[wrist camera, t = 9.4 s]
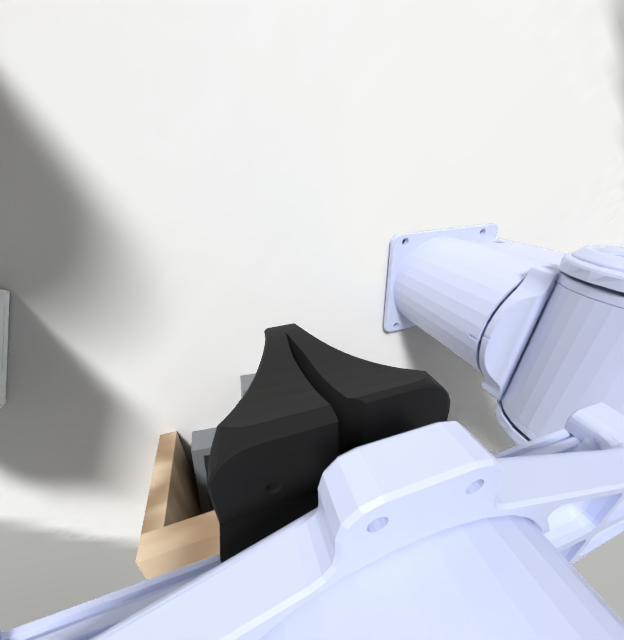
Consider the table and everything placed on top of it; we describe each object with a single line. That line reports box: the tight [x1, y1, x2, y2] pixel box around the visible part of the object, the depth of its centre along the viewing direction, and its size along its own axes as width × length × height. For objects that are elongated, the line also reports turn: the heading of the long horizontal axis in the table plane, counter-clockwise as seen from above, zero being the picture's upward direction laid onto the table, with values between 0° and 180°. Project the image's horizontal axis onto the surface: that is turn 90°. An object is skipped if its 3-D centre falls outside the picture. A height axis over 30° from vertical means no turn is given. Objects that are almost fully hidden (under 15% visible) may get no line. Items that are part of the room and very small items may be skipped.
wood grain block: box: [135, 431, 220, 580], centre depth 24 cm, size 18×13×9 cm
